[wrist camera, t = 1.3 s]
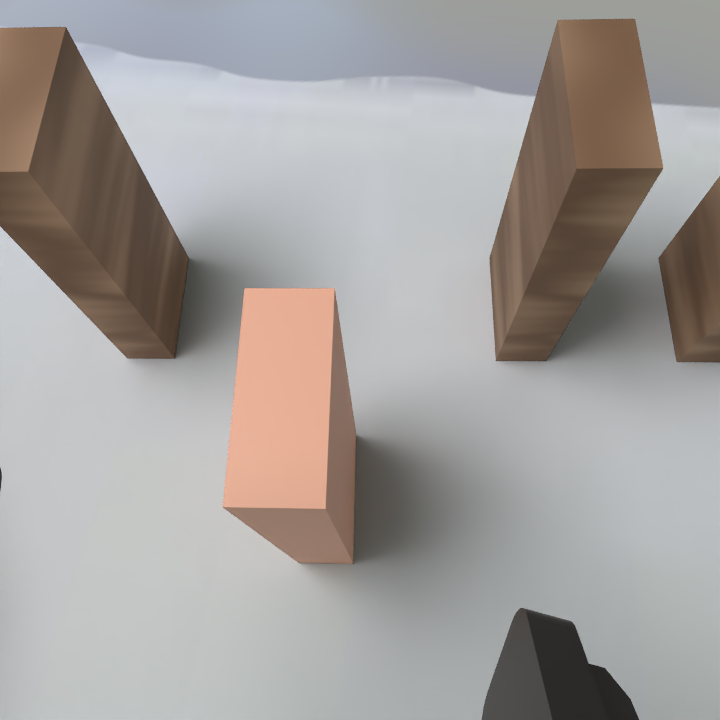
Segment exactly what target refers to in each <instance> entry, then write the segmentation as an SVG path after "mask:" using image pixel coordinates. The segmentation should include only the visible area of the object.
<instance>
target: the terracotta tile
mask: <svg viewBox="0 0 720 720" xmlns="http://www.w3.org/2000/svg"><path fill="white" fill-rule="evenodd" d="M355 469H356V430H355V423H354V416H353V410H352V403H351V396H350V389H349V383H348V376H347V369H346V362H345V356H344V349H343V342H342V335H341V328H340V322H339V315H338V308H337V301H336V295H335V288H245V289H244V299H243V309H242V319H241V329H240V339H239V349H238V359H237V369H236V379H235V389H234V399H233V409H232V419H231V429H230V439H229V449H228V459H227V469H226V479H225V489H224V499H223V508H225V509H226V510H227V511H229V512H230V513H231V514H233V515H234V516H235V517H237V518H238V519H240V520H241V521H242V522H244V523H245V524H246V525H248V526H249V527H250V528H252V529H253V530H255V531H256V532H257V533H259V534H260V535H261V536H263V537H264V538H265V539H267V540H268V541H269V542H271V543H272V544H274V545H275V546H276V547H278V548H279V549H280V550H282V551H283V552H284V553H286V554H287V555H289V556H290V557H291V558H293V559H294V560H295V561H297V562H298V563H340V564H353V552H354V511H355Z"/></svg>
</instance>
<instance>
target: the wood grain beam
mask: <svg viewBox="0 0 720 720" xmlns="http://www.w3.org/2000/svg"><path fill="white" fill-rule="evenodd" d="M0 226H1V227H2V228H3V230H4V231H5V232H6V233H7V234H8V235H9V236H10V237H11V238H12V239H13V240H14V241H15V242H16V243H17V244H18V245H19V246H20V247H21V248H22V249H23V250H24V251H25V252H26V253H27V254H28V256H29V257H30V258H31V259H32V260H33V261H34V262H35V263H36V264H37V265H38V266H39V267H40V268H41V269H42V270H43V271H44V272H45V273H46V274H47V275H48V276H49V277H50V278H51V279H52V280H53V282H54V283H55V284H56V285H57V286H58V287H59V288H60V289H61V290H62V291H63V292H64V293H65V294H66V295H67V296H68V297H69V298H70V299H71V300H72V301H73V302H74V303H75V304H76V305H77V306H78V308H79V309H80V310H81V311H82V312H83V313H84V314H85V315H86V316H87V317H88V318H89V319H90V320H91V321H92V322H93V323H94V324H95V325H96V326H97V327H98V328H99V329H100V330H101V331H102V333H103V334H104V335H105V336H106V337H107V338H108V339H109V340H110V341H111V342H112V343H113V344H114V345H115V346H116V347H117V348H118V349H119V350H120V351H121V352H122V353H123V354H124V355H125V356H126V357H127V358H173V359H175V353H176V346H177V339H178V332H179V324H180V317H181V310H182V303H183V296H184V288H185V281H186V274H187V267H188V260H189V258H188V256H187V254H186V252H185V250H184V248H183V246H182V244H181V243H180V241H179V239H178V237H177V235H176V233H175V231H174V229H173V227H172V226H171V224H170V222H169V220H168V218H167V216H166V214H165V212H164V211H163V209H162V207H161V205H160V203H159V201H158V199H157V197H156V196H155V194H154V192H153V190H152V188H151V186H150V184H149V182H148V181H147V179H146V177H145V175H144V173H143V171H142V169H141V167H140V165H139V164H138V162H137V160H136V158H135V156H134V154H133V152H132V150H131V149H130V147H129V145H128V143H127V141H126V139H125V137H124V135H123V134H122V132H121V130H120V128H119V126H118V124H117V122H116V120H115V118H114V117H113V115H112V113H111V111H110V109H109V107H108V105H107V103H106V102H105V100H104V98H103V96H102V94H101V92H100V90H99V88H98V87H97V85H96V83H95V81H94V79H93V77H92V75H91V73H90V71H89V70H88V68H87V66H86V64H85V62H84V60H83V58H82V56H81V55H80V53H79V51H78V49H77V47H76V45H75V43H74V41H73V40H72V38H71V36H70V34H69V32H68V30H67V28H66V27H37V28H36V27H34V28H0Z"/></svg>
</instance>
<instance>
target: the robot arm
mask: <svg viewBox="0 0 720 720" xmlns="http://www.w3.org/2000/svg"><path fill="white" fill-rule="evenodd" d="M1 480H2V474H1V469H0V489H1ZM482 720H639V718H638V716H637V714H636V711H635V709H634V706H633V704H632V702H631V699H630V698H629V697H628V696H627V694H626V693H625V692H624V691H623V690H622V688H621V687H620V686H619V685H618V684H617V682H616V681H615V680H614V679H613V677H612V676H611V675H610V674H609V673H608V671H607V670H606V669H605V668H603V667H599V666H595V665H592V664H588V661H587V658H586V655H585V652H584V650H583V647H582V644H581V641H580V638H579V635H578V633H577V630H576V627H575V625H574V624H573V622H571V621H568V620H564V619H560V618H557V617H553V616H549V615H546V614H542V613H539V612H535V611H531V610H528V609H524V608H520V609H519V610H518V611H517V612H516V614H515V616H514V618H513V621H512V623H511V626H510V629H509V632H508V635H507V638H506V641H505V643H504V646H503V649H502V652H501V655H500V658H499V661H498V664H497V667H496V669H495V672H494V675H493V678H492V681H491V684H490V687H489V690H488V693H487V696H486V700H485V704H484V709H483V715H482Z"/></svg>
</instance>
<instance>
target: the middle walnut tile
mask: <svg viewBox="0 0 720 720" xmlns="http://www.w3.org/2000/svg"><path fill="white" fill-rule="evenodd" d="M662 169H663V164H662V159H661V154H660V148H659V143H658V138H657V132H656V127H655V122H654V117H653V111H652V106H651V101H650V95H649V90H648V85H647V80H646V75H645V69H644V64H643V59H642V53H641V48H640V43H639V38H638V32H637V27H636V22H635V19H594V20H593V19H592V20H591V19H590V20H558V21H557V25H556V28H555V32H554V35H553V39H552V42H551V46H550V49H549V52H548V56H547V60H546V63H545V66H544V70H543V74H542V77H541V80H540V84H539V87H538V91H537V94H536V98H535V101H534V105H533V108H532V112H531V115H530V119H529V122H528V126H527V129H526V133H525V136H524V140H523V143H522V147H521V150H520V154H519V157H518V161H517V164H516V168H515V171H514V175H513V178H512V182H511V185H510V189H509V192H508V196H507V199H506V203H505V206H504V210H503V213H502V217H501V220H500V224H499V227H498V231H497V234H496V238H495V241H494V245H493V248H492V252H491V255H490V272H491V288H492V304H493V320H494V336H495V352H496V361H546V360H547V358H548V357H549V355H550V353H551V352H552V350H553V348H554V347H555V345H556V343H557V342H558V340H559V338H560V337H561V335H562V334H563V332H564V330H565V329H566V327H567V325H568V324H569V322H570V320H571V319H572V317H573V316H574V314H575V312H576V311H577V309H578V307H579V306H580V304H581V302H582V301H583V299H584V297H585V296H586V294H587V293H588V291H589V289H590V288H591V286H592V284H593V283H594V281H595V279H596V278H597V276H598V274H599V273H600V271H601V270H602V268H603V266H604V265H605V263H606V261H607V260H608V258H609V256H610V255H611V253H612V251H613V250H614V248H615V247H616V245H617V243H618V242H619V240H620V238H621V237H622V235H623V233H624V232H625V230H626V228H627V227H628V225H629V224H630V222H631V220H632V219H633V217H634V215H635V214H636V212H637V210H638V209H639V207H640V205H641V204H642V202H643V201H644V199H645V197H646V196H647V194H648V192H649V191H650V189H651V187H652V186H653V184H654V182H655V181H656V179H657V178H658V176H659V174H660V173H661V171H662Z"/></svg>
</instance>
